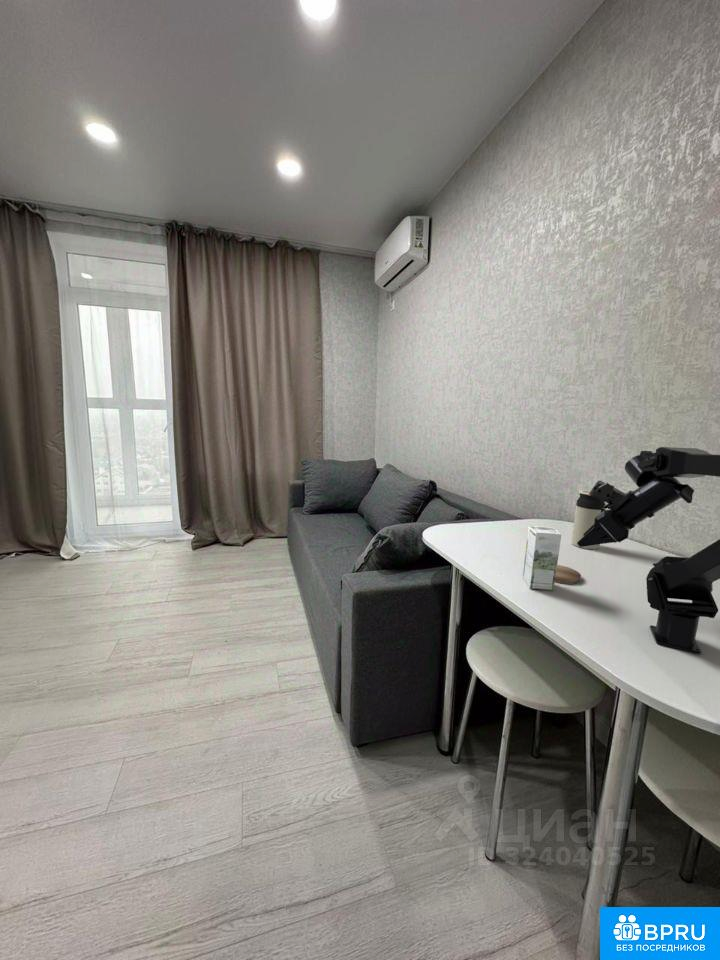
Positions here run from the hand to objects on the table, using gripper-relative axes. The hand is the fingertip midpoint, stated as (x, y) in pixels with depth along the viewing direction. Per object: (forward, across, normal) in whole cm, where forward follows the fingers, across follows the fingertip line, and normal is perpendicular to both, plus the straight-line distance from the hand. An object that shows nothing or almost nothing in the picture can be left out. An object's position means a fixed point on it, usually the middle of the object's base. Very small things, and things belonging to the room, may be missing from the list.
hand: (581, 540), depth 87 cm
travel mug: (+11, -44, +6) cm, 46 cm away
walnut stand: (+13, -10, +5) cm, 18 cm away
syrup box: (+15, 0, +4) cm, 16 cm away
